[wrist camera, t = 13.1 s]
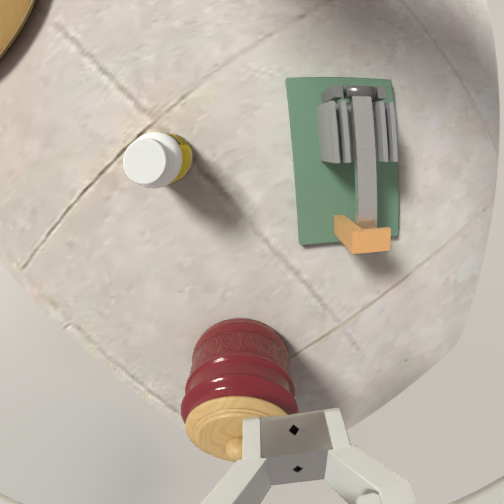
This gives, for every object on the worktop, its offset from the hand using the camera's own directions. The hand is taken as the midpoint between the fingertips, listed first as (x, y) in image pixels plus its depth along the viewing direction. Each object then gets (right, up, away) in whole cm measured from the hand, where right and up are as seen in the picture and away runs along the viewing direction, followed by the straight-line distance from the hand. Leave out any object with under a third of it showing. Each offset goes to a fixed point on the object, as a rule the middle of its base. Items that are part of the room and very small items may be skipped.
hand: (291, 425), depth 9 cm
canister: (-3, -9, +34) cm, 35 cm away
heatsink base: (+10, +16, +25) cm, 32 cm away
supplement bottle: (-10, +16, +25) cm, 32 cm away
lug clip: (+10, +9, +27) cm, 30 cm away
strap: (+10, +14, +21) cm, 27 cm away
